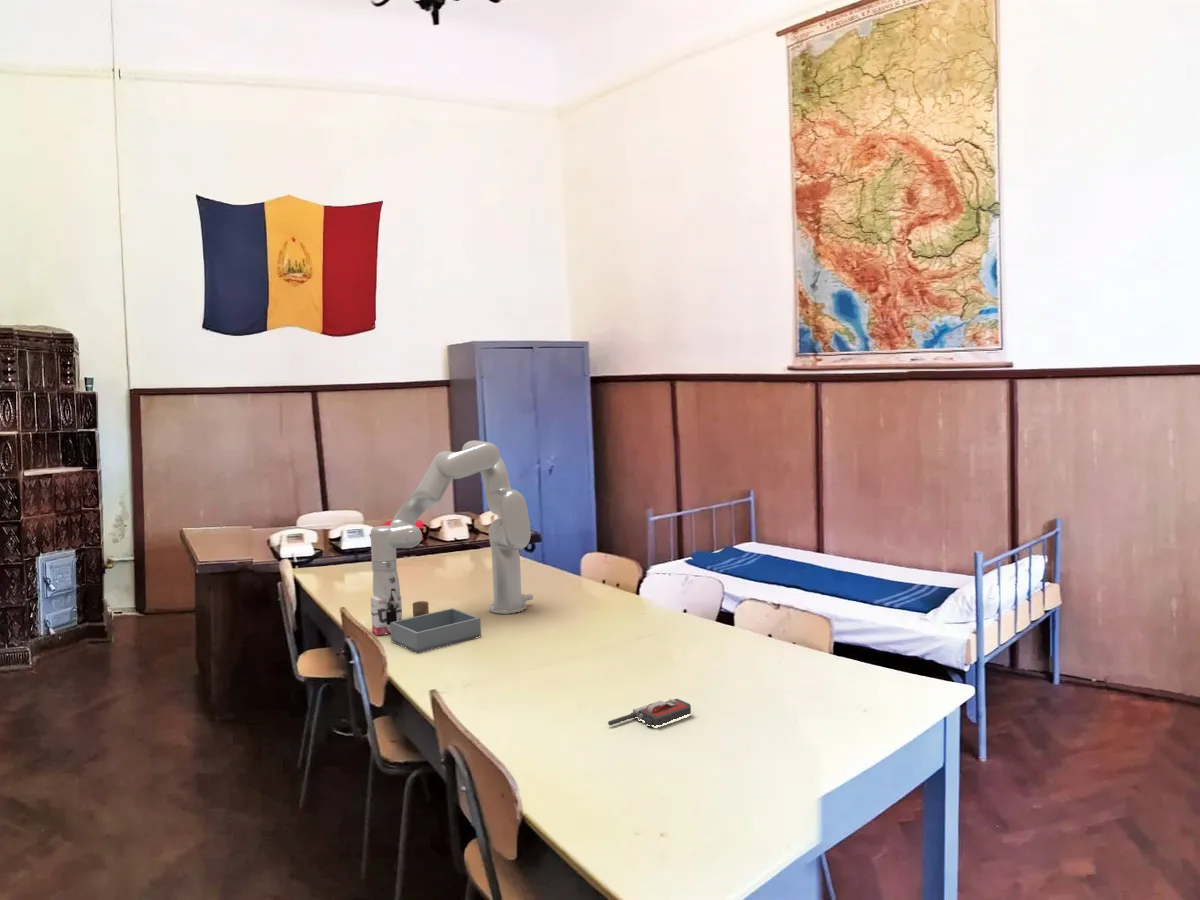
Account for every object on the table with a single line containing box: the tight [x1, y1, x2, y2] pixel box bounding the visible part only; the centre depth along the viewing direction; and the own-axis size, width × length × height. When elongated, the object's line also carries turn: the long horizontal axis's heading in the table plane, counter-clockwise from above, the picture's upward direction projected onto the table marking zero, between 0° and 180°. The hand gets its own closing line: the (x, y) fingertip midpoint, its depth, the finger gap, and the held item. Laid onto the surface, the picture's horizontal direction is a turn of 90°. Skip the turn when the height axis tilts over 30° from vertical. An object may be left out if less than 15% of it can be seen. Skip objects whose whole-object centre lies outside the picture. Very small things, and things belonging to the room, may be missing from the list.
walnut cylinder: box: [412, 600, 430, 617], centre depth 283 cm, size 5×5×7 cm
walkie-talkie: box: [607, 698, 692, 726], centre depth 200 cm, size 9×4×20 cm
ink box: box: [370, 595, 403, 637], centre depth 275 cm, size 8×5×12 cm, turn 123°
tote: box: [390, 607, 482, 654], centre depth 267 cm, size 22×16×6 cm
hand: (387, 621), depth 276 cm, fingers closed on ink box, 5 cm apart
